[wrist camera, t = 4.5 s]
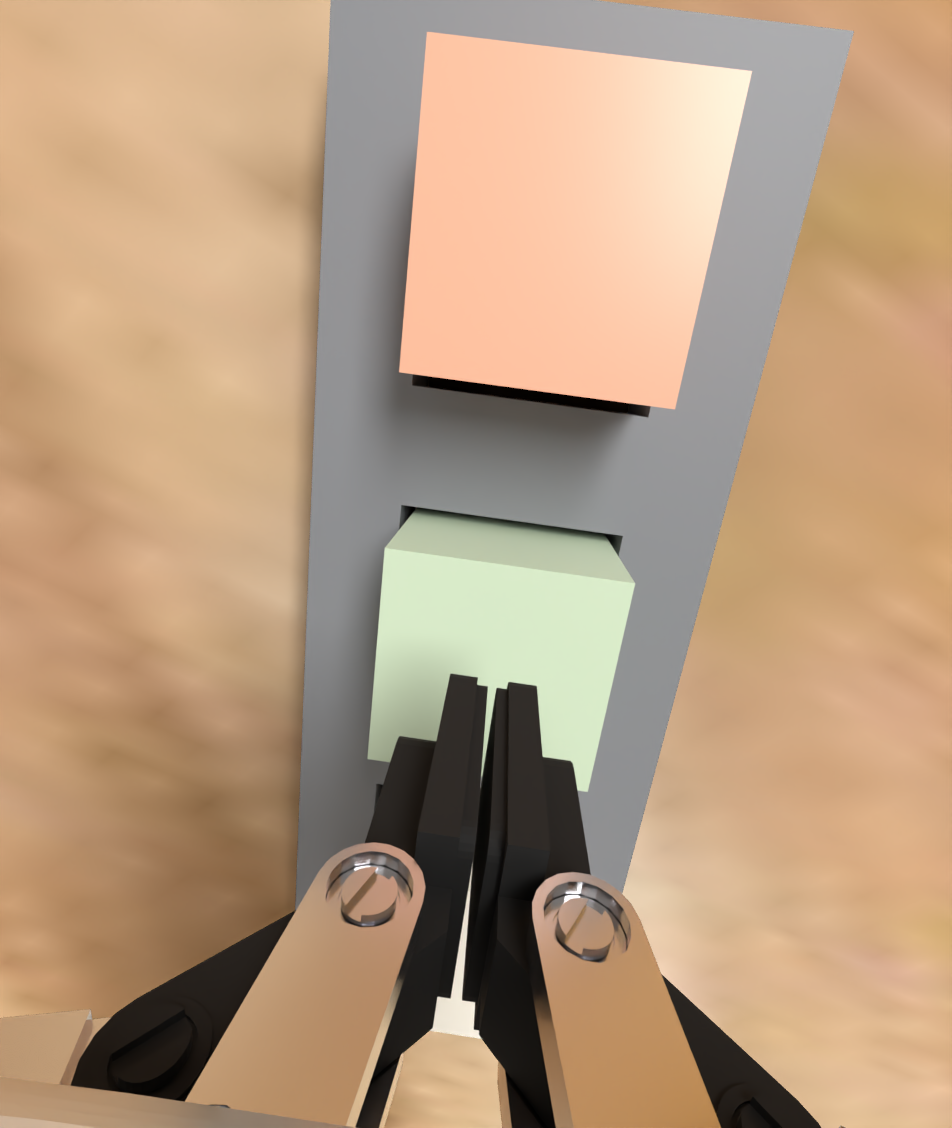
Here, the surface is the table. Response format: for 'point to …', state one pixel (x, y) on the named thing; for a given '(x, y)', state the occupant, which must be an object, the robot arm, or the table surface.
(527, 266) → the terracotta key
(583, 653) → the sage key
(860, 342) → the table surface
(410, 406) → the key console
